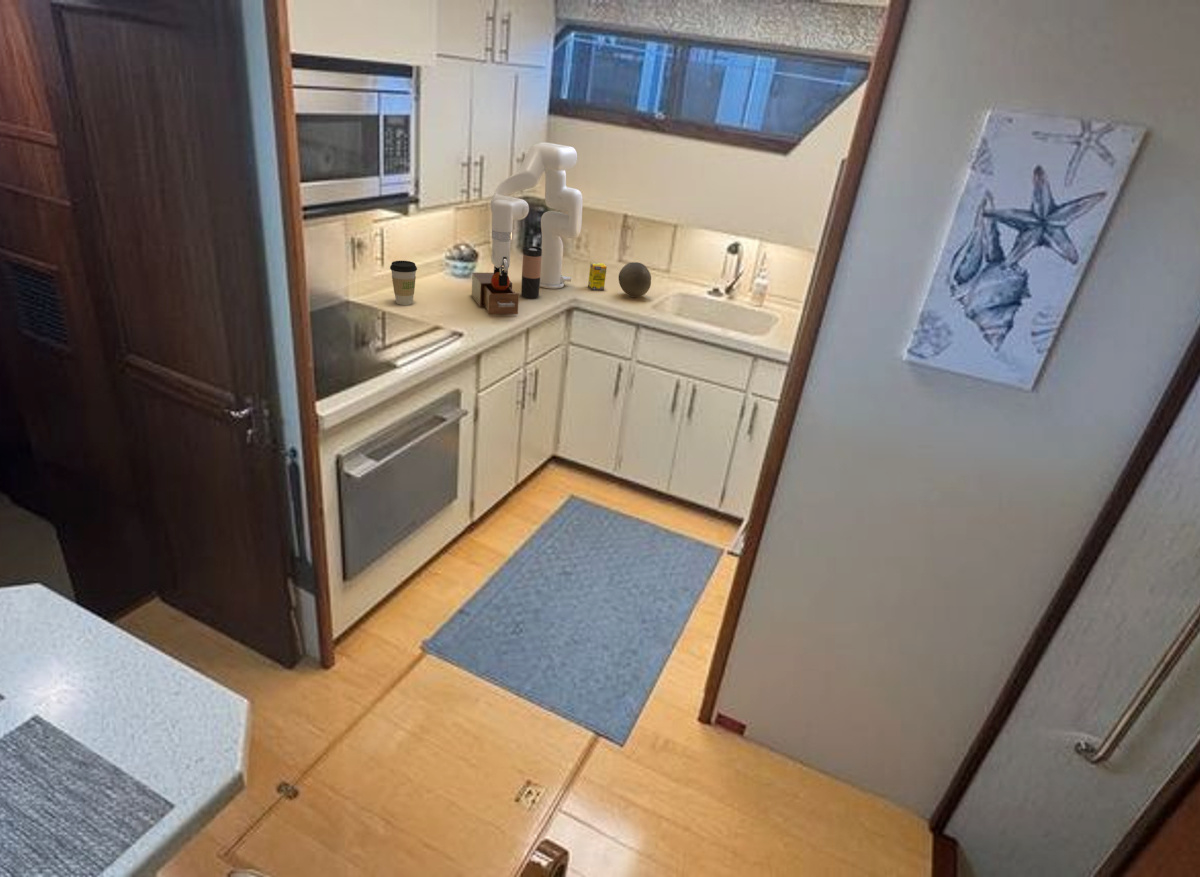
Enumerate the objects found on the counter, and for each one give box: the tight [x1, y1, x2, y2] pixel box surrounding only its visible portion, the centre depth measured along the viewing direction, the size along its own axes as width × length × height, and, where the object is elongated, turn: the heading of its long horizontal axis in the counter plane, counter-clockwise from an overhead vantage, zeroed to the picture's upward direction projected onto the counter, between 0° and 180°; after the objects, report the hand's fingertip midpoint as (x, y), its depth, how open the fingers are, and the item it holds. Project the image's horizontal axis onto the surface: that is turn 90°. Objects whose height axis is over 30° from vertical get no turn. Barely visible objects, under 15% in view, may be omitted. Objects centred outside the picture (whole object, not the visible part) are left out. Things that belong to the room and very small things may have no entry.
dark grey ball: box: [618, 262, 652, 298], centre depth 301 cm, size 14×14×15 cm
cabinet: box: [471, 272, 513, 308], centre depth 275 cm, size 15×13×10 cm
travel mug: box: [520, 245, 542, 300], centre depth 285 cm, size 8×8×20 cm
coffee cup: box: [389, 260, 418, 306], centre depth 261 cm, size 10×10×15 cm
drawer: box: [482, 285, 520, 315], centre depth 264 cm, size 18×11×8 cm, turn 22°
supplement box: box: [587, 262, 607, 292], centre depth 308 cm, size 6×6×11 cm
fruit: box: [491, 272, 511, 291], centre depth 263 cm, size 7×7×8 cm
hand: (500, 282), depth 263 cm, fingers closed on fruit, 7 cm apart
